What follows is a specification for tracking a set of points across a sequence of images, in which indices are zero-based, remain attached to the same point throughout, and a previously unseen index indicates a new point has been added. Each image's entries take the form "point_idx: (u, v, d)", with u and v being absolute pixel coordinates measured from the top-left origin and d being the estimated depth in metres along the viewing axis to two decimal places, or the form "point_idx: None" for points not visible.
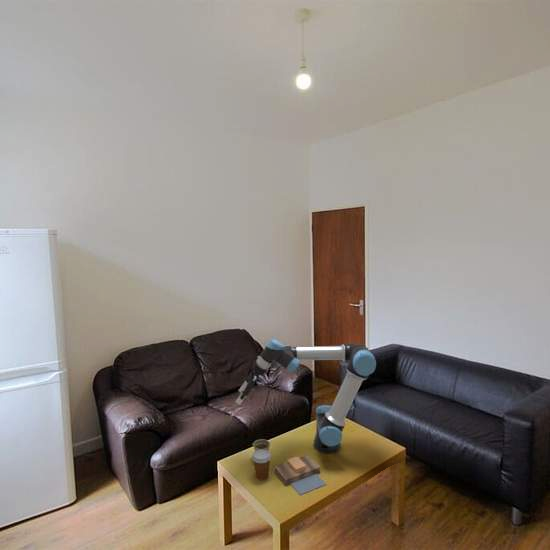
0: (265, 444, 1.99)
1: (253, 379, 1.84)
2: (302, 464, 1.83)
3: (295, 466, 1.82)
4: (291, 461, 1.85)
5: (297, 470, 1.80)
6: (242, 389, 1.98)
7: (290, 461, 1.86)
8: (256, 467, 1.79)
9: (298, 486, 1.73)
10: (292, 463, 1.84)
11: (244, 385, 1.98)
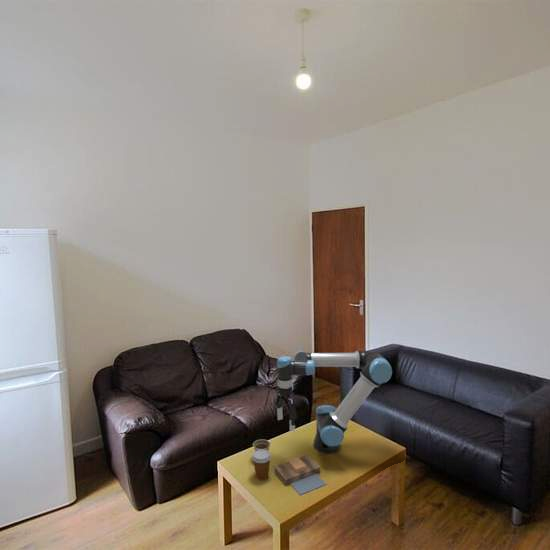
0: (265, 444, 1.99)
1: (291, 402, 1.84)
2: (302, 464, 1.83)
3: (295, 466, 1.82)
4: (291, 461, 1.85)
5: (297, 470, 1.80)
6: (280, 416, 1.98)
7: (290, 461, 1.86)
8: (256, 467, 1.79)
9: (298, 486, 1.73)
10: (292, 463, 1.84)
11: (279, 412, 1.97)
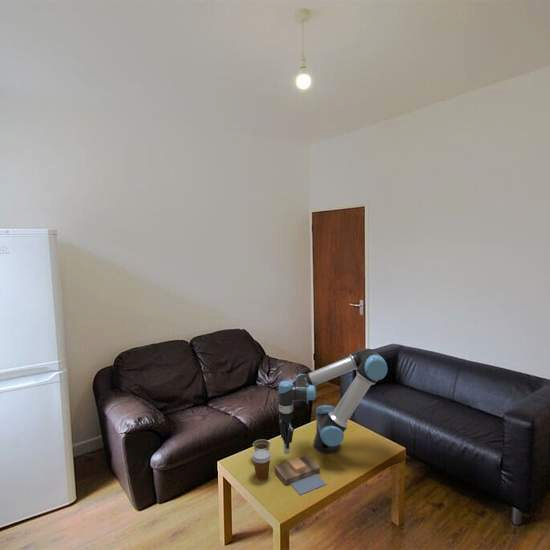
0: (265, 444, 1.99)
1: (291, 431, 1.87)
2: (302, 464, 1.83)
3: (295, 466, 1.82)
4: (291, 461, 1.85)
5: (297, 470, 1.80)
6: None
7: (290, 461, 1.86)
8: (256, 467, 1.79)
9: (298, 486, 1.73)
10: (292, 463, 1.84)
11: None
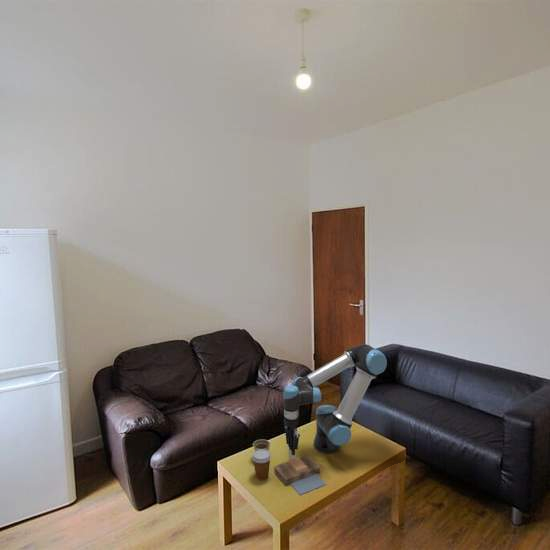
0: (265, 444, 1.99)
1: (296, 437, 1.82)
2: (303, 465, 1.82)
3: (296, 467, 1.81)
4: (292, 463, 1.84)
5: (298, 471, 1.79)
6: None
7: (291, 462, 1.85)
8: (256, 467, 1.79)
9: (298, 486, 1.73)
10: (293, 464, 1.83)
11: None
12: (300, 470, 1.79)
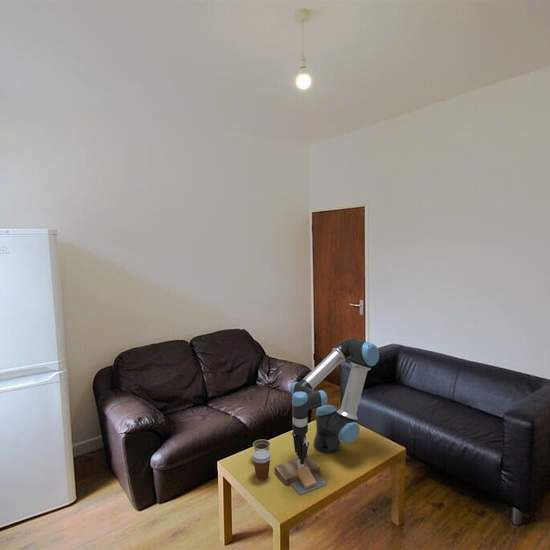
0: (265, 444, 1.99)
1: (305, 446, 1.74)
2: (312, 480, 1.74)
3: (305, 482, 1.73)
4: (301, 474, 1.76)
5: (307, 487, 1.72)
6: None
7: (300, 473, 1.76)
8: (256, 467, 1.79)
9: (298, 486, 1.73)
10: (302, 476, 1.75)
11: None
12: (309, 485, 1.72)
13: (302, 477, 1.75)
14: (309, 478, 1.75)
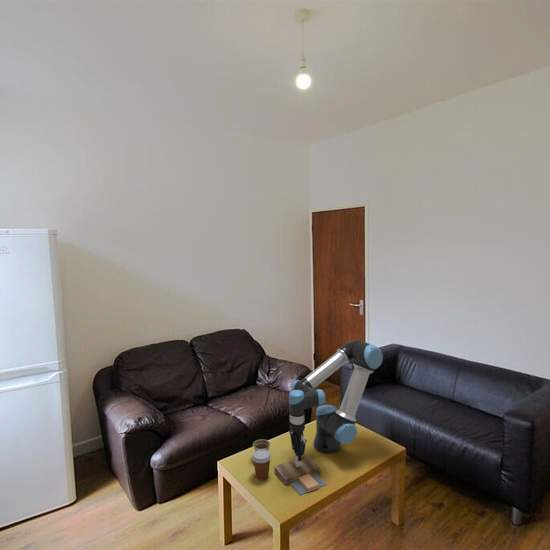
0: (265, 444, 1.99)
1: (303, 443, 1.77)
2: (314, 483, 1.73)
3: (307, 485, 1.72)
4: (303, 480, 1.75)
5: (309, 489, 1.70)
6: None
7: (301, 479, 1.76)
8: (256, 467, 1.79)
9: (298, 486, 1.73)
10: (304, 481, 1.74)
11: None
12: (311, 488, 1.70)
13: (304, 482, 1.74)
14: (311, 482, 1.74)
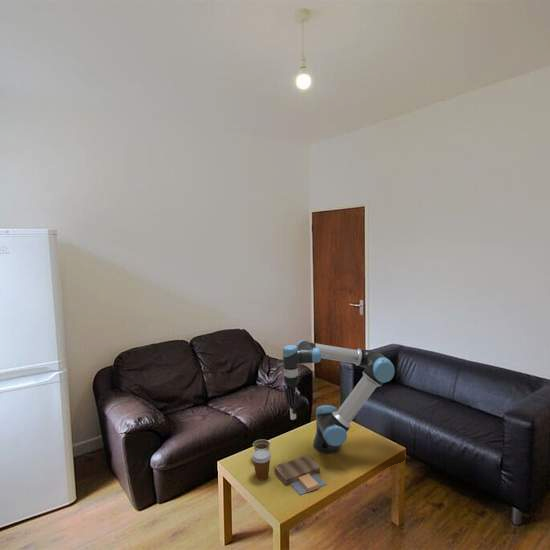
0: (265, 444, 1.99)
1: (297, 395, 1.83)
2: (314, 483, 1.73)
3: (307, 485, 1.72)
4: (303, 480, 1.75)
5: (309, 489, 1.70)
6: None
7: (301, 479, 1.76)
8: (256, 467, 1.79)
9: (298, 486, 1.73)
10: (304, 481, 1.74)
11: None
12: (311, 488, 1.70)
13: (304, 482, 1.74)
14: (311, 482, 1.74)
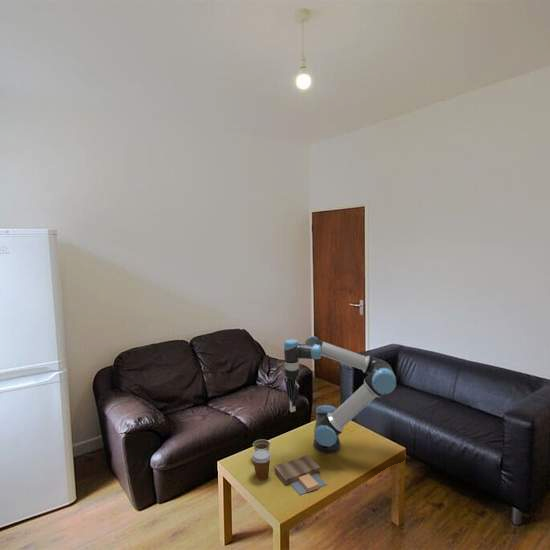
0: (265, 444, 1.99)
1: (297, 388, 1.88)
2: (314, 483, 1.73)
3: (307, 485, 1.72)
4: (303, 480, 1.75)
5: (309, 489, 1.70)
6: None
7: (301, 479, 1.76)
8: (256, 467, 1.79)
9: (298, 486, 1.73)
10: (304, 481, 1.74)
11: None
12: (311, 488, 1.70)
13: (304, 482, 1.74)
14: (311, 482, 1.74)
